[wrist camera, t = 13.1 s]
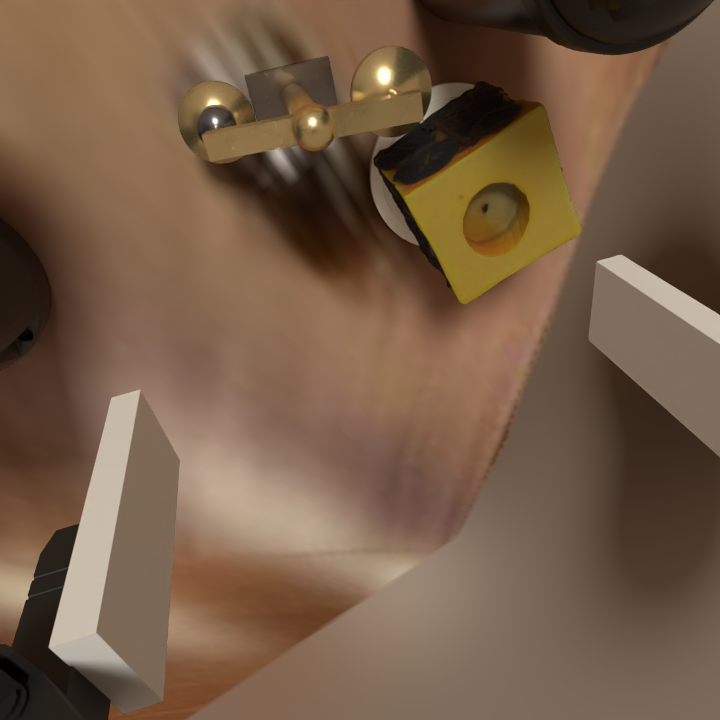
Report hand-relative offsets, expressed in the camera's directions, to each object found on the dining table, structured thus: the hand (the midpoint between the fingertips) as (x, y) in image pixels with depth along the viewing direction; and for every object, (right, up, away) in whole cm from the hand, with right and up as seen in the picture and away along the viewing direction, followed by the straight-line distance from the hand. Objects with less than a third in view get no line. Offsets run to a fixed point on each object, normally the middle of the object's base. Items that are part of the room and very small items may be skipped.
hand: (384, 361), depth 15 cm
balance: (-6, +19, +23) cm, 31 cm away
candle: (+7, +15, +28) cm, 32 cm away
